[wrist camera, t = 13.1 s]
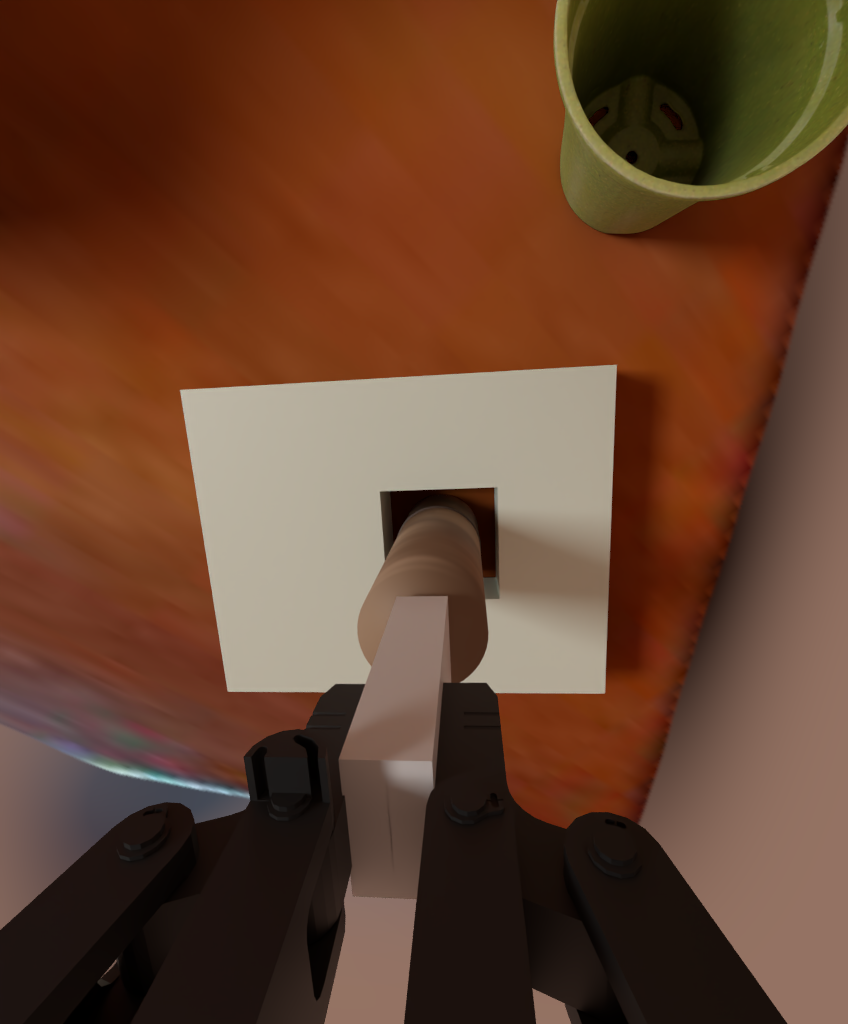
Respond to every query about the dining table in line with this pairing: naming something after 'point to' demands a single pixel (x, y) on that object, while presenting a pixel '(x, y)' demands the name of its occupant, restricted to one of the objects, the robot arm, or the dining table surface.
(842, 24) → the plant pot
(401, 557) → the peg
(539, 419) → the board
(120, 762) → the dining table surface
